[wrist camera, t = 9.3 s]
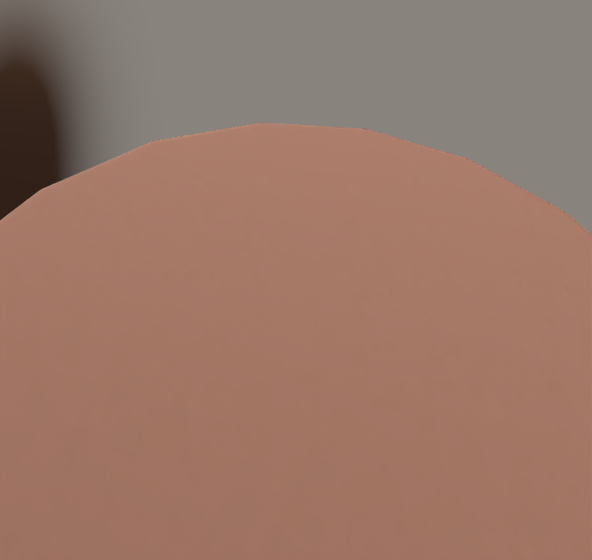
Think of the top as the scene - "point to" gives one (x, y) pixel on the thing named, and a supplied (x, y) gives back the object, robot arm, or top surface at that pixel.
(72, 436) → the coffee jar
